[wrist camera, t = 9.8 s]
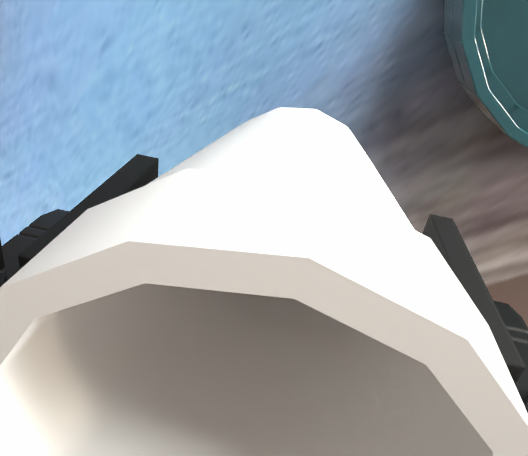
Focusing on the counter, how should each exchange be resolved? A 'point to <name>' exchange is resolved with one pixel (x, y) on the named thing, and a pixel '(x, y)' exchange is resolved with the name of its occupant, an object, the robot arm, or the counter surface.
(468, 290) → the robot arm
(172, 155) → the counter surface
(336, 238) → the foam cup
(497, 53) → the bowl
